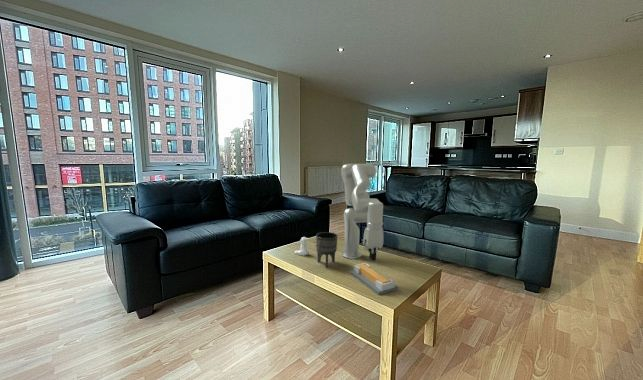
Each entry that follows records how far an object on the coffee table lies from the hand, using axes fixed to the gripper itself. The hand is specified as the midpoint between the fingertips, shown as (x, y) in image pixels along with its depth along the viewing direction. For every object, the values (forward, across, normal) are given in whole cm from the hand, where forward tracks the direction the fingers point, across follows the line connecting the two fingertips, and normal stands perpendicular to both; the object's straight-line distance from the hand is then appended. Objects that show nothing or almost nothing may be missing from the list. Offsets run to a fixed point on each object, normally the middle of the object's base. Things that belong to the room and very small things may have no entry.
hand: (372, 259), depth 134 cm
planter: (+12, +12, -29) cm, 34 cm away
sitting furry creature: (+13, +19, -49) cm, 54 cm away
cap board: (+11, 0, +1) cm, 11 cm away
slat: (+10, +1, +2) cm, 10 cm away
